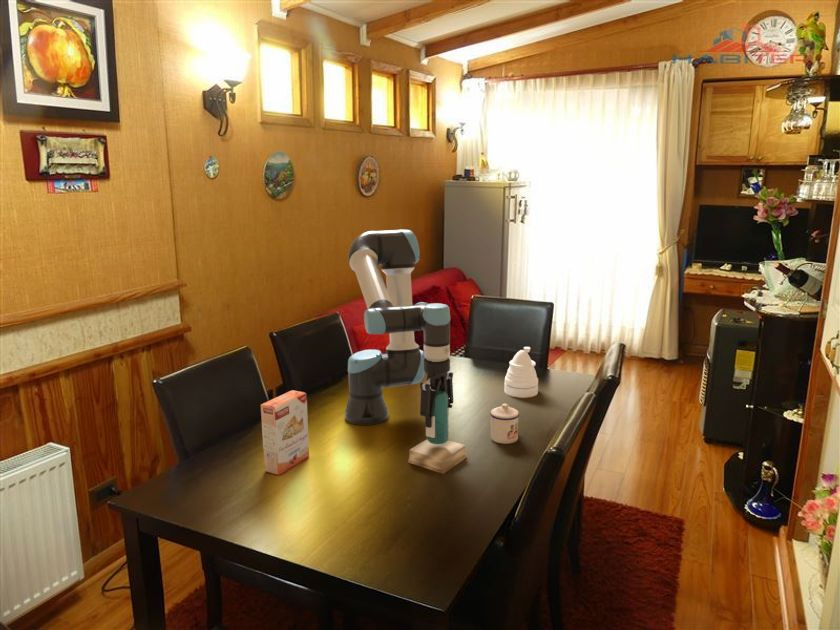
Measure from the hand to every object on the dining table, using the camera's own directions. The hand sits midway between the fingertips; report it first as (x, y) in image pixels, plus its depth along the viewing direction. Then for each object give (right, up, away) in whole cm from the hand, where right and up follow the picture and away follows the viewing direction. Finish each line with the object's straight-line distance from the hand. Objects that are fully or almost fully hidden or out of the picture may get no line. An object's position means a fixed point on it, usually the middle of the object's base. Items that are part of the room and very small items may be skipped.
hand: (437, 432), depth 185 cm
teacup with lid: (+23, -5, +17) cm, 29 cm away
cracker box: (-44, -10, +1) cm, 45 cm away
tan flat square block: (0, -9, +2) cm, 9 cm away
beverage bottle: (0, -4, +1) cm, 4 cm away
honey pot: (+34, +5, +57) cm, 67 cm away
